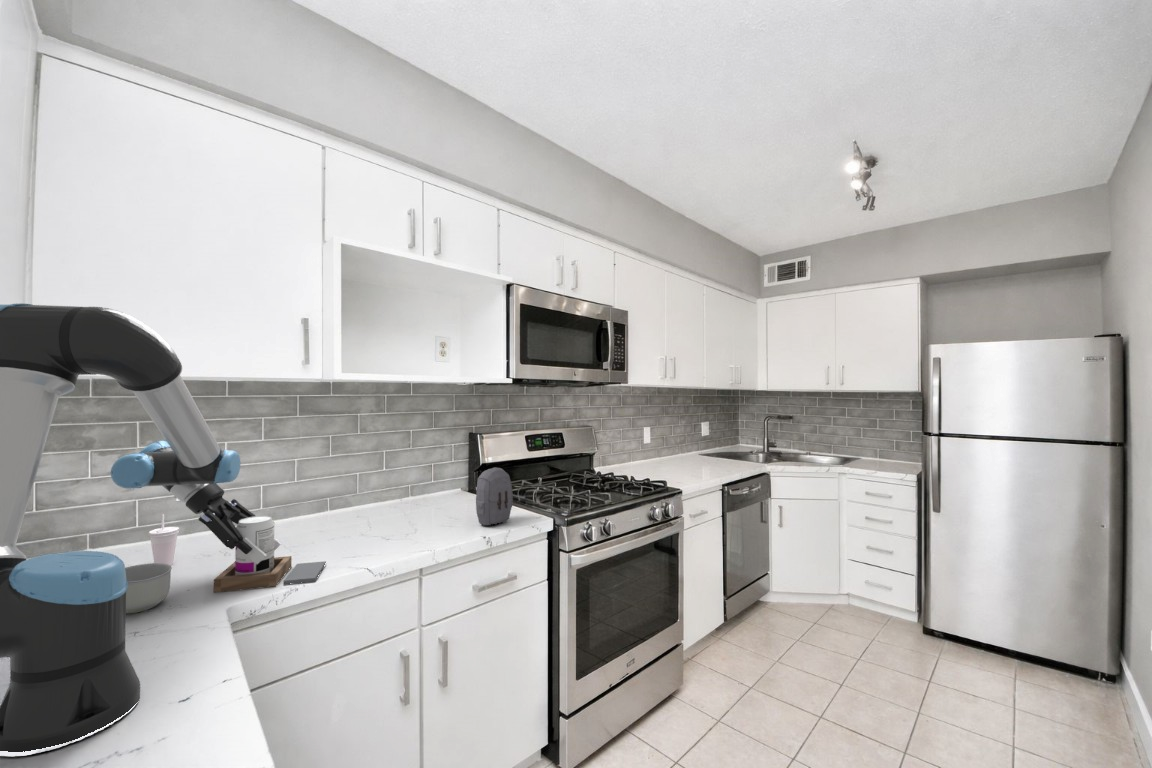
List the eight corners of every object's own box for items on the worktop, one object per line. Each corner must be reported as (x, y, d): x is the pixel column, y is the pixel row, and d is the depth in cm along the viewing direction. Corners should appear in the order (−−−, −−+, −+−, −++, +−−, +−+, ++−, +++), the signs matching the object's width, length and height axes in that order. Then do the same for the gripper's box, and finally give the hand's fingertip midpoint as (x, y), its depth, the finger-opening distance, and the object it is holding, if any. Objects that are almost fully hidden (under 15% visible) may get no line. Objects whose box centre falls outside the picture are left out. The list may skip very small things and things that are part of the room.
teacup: (165, 592, 115) (165, 558, 115) (176, 606, 108) (177, 569, 108) (81, 613, 104) (81, 576, 104) (88, 630, 97) (88, 589, 97)
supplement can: (234, 588, 117) (234, 525, 117) (236, 576, 124) (236, 517, 124) (274, 581, 122) (274, 520, 122) (273, 570, 129) (274, 513, 129)
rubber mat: (315, 581, 121) (315, 577, 121) (283, 584, 119) (283, 580, 119) (325, 564, 133) (325, 561, 133) (297, 567, 131) (297, 563, 131)
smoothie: (142, 570, 128) (142, 517, 128) (158, 562, 135) (159, 511, 135) (169, 569, 129) (169, 516, 129) (184, 560, 136) (185, 510, 136)
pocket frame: (275, 586, 118) (275, 574, 118) (213, 592, 115) (213, 579, 115) (291, 567, 131) (291, 556, 131) (235, 572, 127) (235, 560, 127)
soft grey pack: (503, 517, 181) (503, 463, 182) (519, 521, 176) (519, 466, 176) (471, 526, 170) (471, 469, 170) (487, 531, 164) (487, 471, 165)
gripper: (210, 494, 130) (275, 551, 133) (158, 514, 110) (237, 581, 113) (232, 474, 132) (296, 530, 134) (185, 490, 111) (262, 556, 114)
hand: (269, 553), depth 124 cm, fingers closed on supplement can, 8 cm apart
